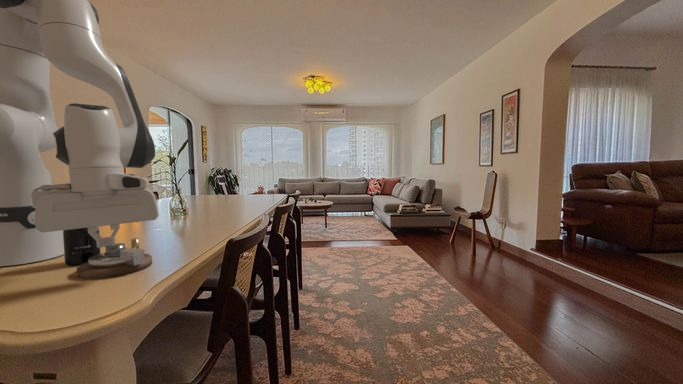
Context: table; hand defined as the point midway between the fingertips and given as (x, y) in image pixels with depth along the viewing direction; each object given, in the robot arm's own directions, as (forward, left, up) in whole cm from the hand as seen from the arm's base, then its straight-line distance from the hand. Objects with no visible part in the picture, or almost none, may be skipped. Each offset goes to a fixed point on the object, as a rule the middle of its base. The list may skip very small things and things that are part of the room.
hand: (106, 246), depth 63 cm
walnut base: (-5, +4, -7) cm, 9 cm away
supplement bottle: (-18, +4, -7) cm, 19 cm away
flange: (-3, +4, -5) cm, 7 cm away
